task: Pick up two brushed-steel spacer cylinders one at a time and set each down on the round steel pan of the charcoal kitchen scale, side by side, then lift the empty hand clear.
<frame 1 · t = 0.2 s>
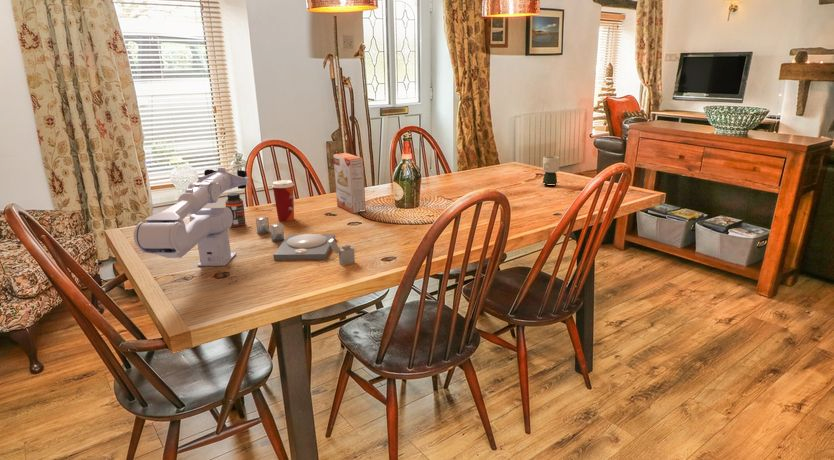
hand: (233, 173, 164), 21 cm above the table, tool horizontal, fingers open, 7 cm apart
paper cup: (286, 220, 190), on the table
lighter: (342, 264, 147), on the table
supplement bottle: (237, 225, 184), on the table
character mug: (549, 186, 233), on the table
spacer a: (278, 239, 168), on the table
cracker box: (350, 209, 202), on the table
kitchen scale: (306, 248, 159), on the table
spacer b: (263, 232, 176), on the table
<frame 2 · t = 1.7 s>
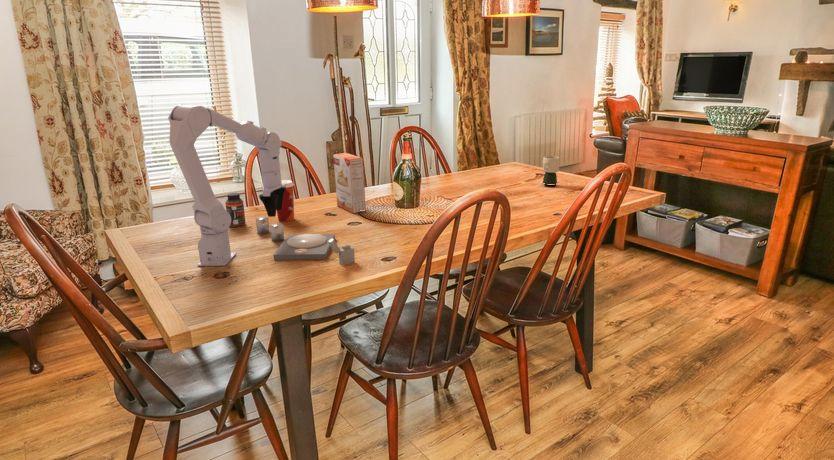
hand: (275, 213, 165), 9 cm above the table, tool pointing down, fingers open, 7 cm apart
nothing on the table moved.
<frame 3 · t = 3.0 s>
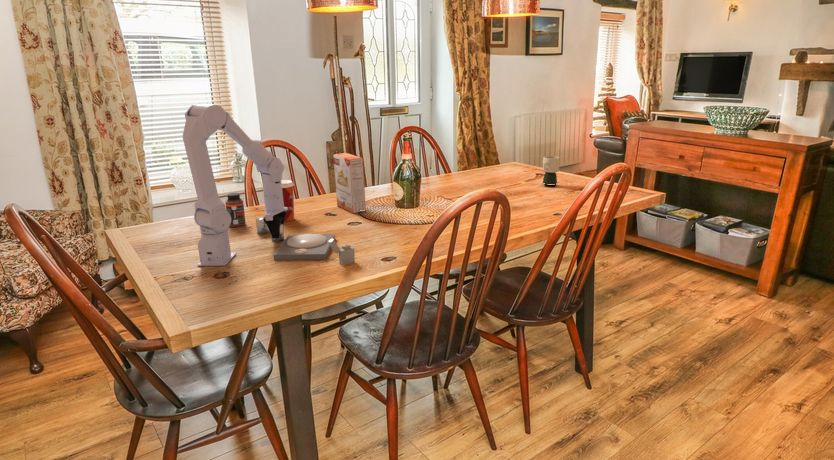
hand: (277, 235, 167), 1 cm above the table, tool pointing down, fingers closed on spacer a, 4 cm apart
spacer a: (278, 239, 168), on the table, touching gripper
everything else where it was.
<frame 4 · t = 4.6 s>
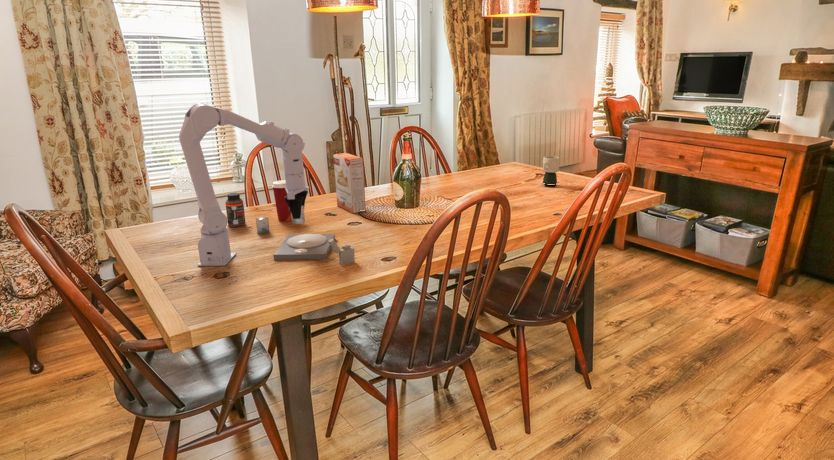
hand: (298, 216, 161), 9 cm above the table, tool pointing down, fingers closed on spacer a, 4 cm apart
spacer a: (298, 221, 162), point 7 cm above the table, touching gripper
everything else where it was.
when the fingers open (5 cm above the table, at t = 6.3 s): spacer a stays where it is, resting on kitchen scale.
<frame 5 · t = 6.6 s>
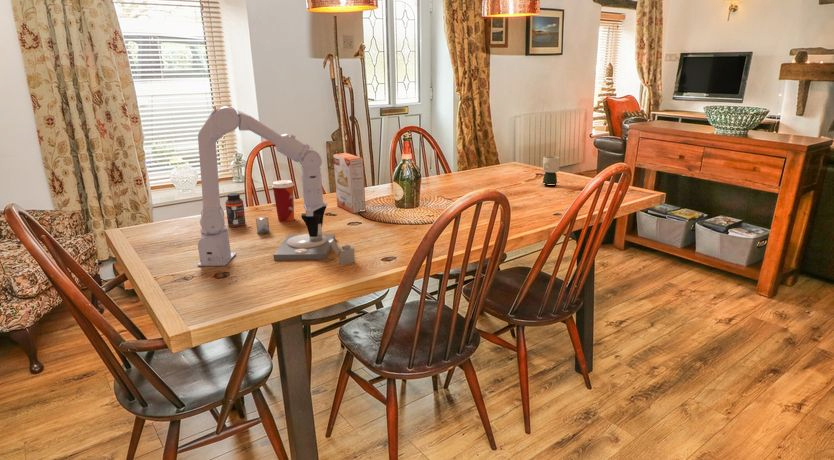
hand: (316, 232, 160), 5 cm above the table, tool pointing down, fingers open, 7 cm apart
spacer a: (315, 239, 160), point 2 cm above the table, touching kitchen scale
everything else where it was.
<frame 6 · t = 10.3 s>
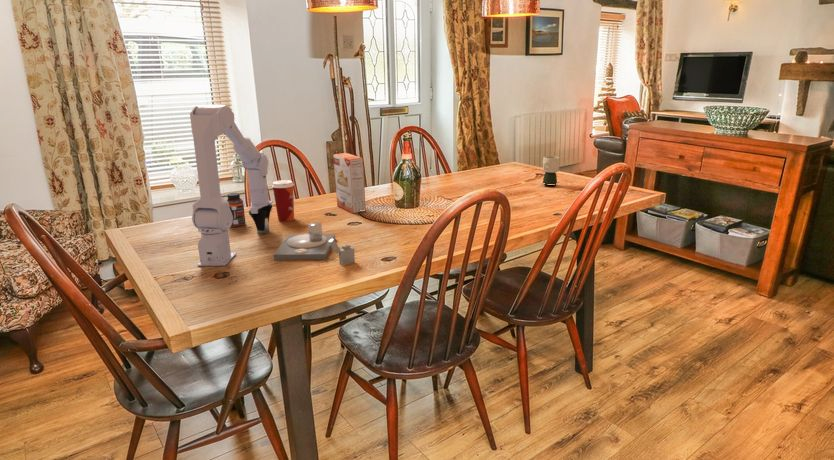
hand: (263, 228, 175), 1 cm above the table, tool pointing down, fingers closed on spacer b, 4 cm apart
spacer b: (263, 232, 175), on the table, touching gripper
everything else where it was.
when the fingers open (5 cm above the table, at t = 13.8 s): spacer b stays where it is, resting on kitchen scale.
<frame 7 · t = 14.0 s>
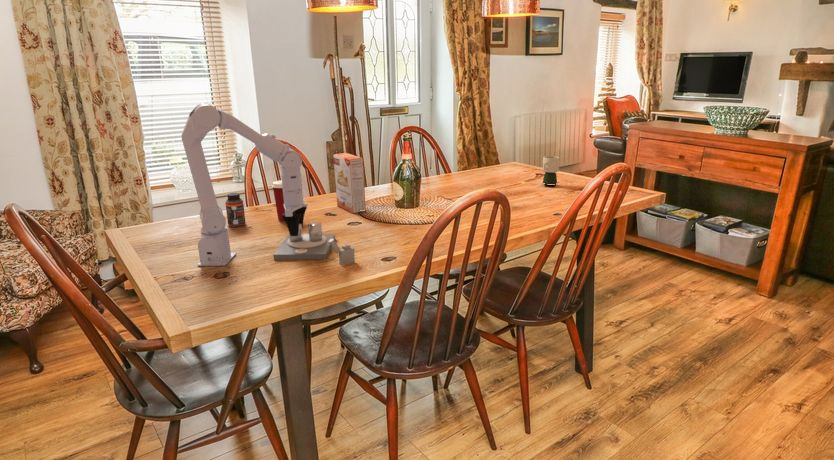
hand: (296, 232, 160), 5 cm above the table, tool pointing down, fingers open, 5 cm apart
spacer b: (296, 240, 160), point 2 cm above the table, touching kitchen scale
everything else where it was.
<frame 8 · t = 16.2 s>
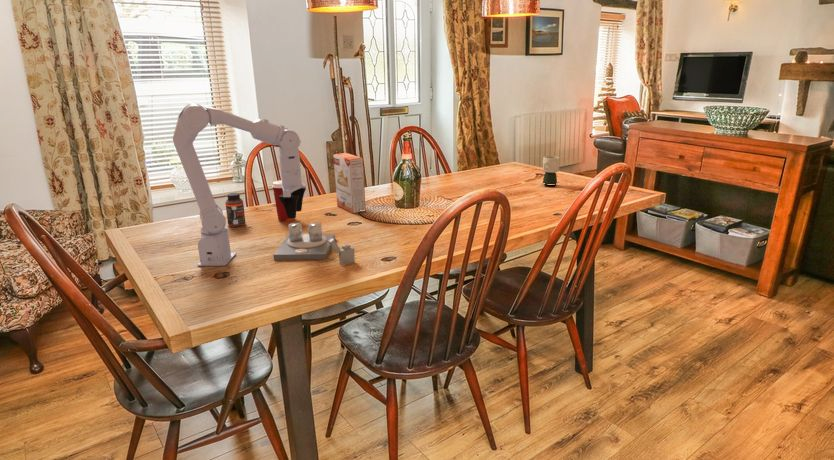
hand: (294, 214, 158), 10 cm above the table, tool pointing down, fingers open, 7 cm apart
nothing on the table moved.
at the end: spacer a inside the target area on the kitchen scale (2.8 cm from its centre), point 2.2 cm above the kitchen scale's base; spacer b inside the target area on the kitchen scale (3.3 cm from its centre), point 2.2 cm above the kitchen scale's base; the gripper is holding nothing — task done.
